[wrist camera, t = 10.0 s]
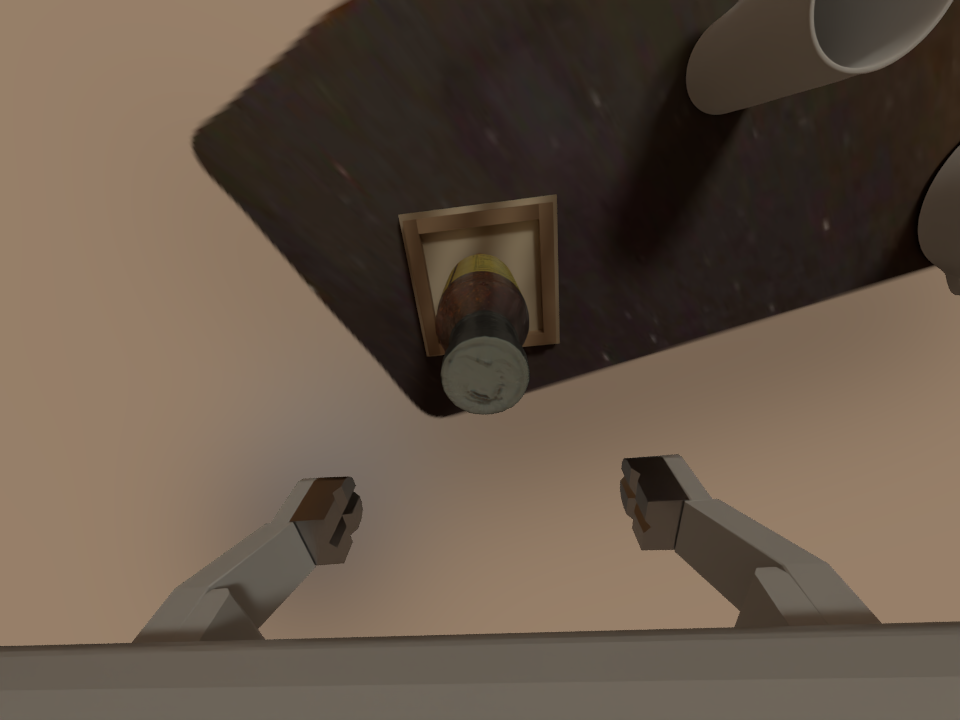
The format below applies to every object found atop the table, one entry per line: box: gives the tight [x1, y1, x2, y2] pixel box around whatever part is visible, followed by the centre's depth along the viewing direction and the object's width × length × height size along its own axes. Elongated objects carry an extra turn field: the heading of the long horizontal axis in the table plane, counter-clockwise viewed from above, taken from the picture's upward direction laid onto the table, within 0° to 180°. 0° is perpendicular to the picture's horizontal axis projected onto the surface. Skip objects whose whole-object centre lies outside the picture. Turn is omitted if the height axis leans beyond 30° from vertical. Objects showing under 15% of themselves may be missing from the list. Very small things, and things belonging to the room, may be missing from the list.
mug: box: [686, 0, 953, 115], centre depth 21 cm, size 10×7×12 cm, turn 20°
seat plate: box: [398, 195, 560, 356], centre depth 33 cm, size 14×14×2 cm
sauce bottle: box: [435, 253, 530, 414], centre depth 24 cm, size 6×6×20 cm
